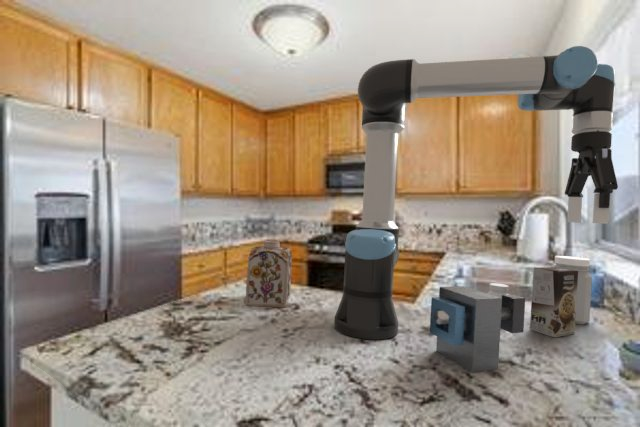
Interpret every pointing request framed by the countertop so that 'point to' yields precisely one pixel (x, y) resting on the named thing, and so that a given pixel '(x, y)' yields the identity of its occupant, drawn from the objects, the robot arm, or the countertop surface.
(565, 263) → the jar
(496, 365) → the block
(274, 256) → the decorative jar
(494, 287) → the pill bottle
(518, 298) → the shaft
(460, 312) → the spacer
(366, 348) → the countertop surface
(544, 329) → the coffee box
